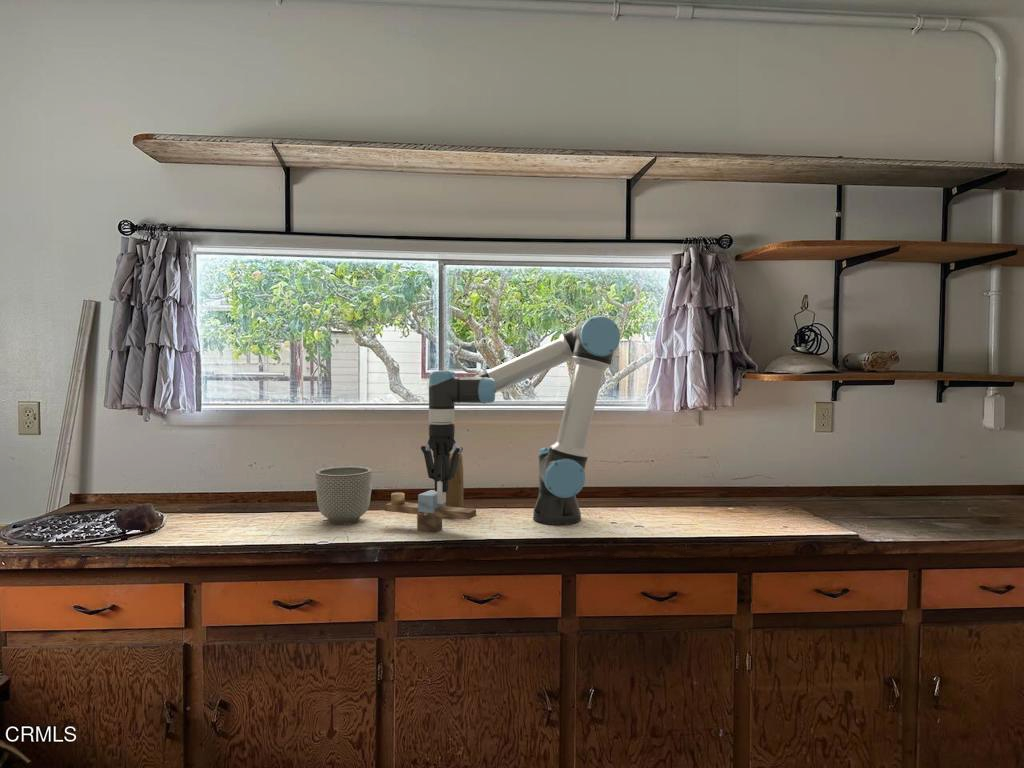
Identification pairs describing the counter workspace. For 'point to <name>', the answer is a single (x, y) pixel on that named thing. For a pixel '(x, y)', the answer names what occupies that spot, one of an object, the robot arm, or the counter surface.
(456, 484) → the block
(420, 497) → the rider
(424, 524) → the beam
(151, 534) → the counter surface
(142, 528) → the rock
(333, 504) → the planter
